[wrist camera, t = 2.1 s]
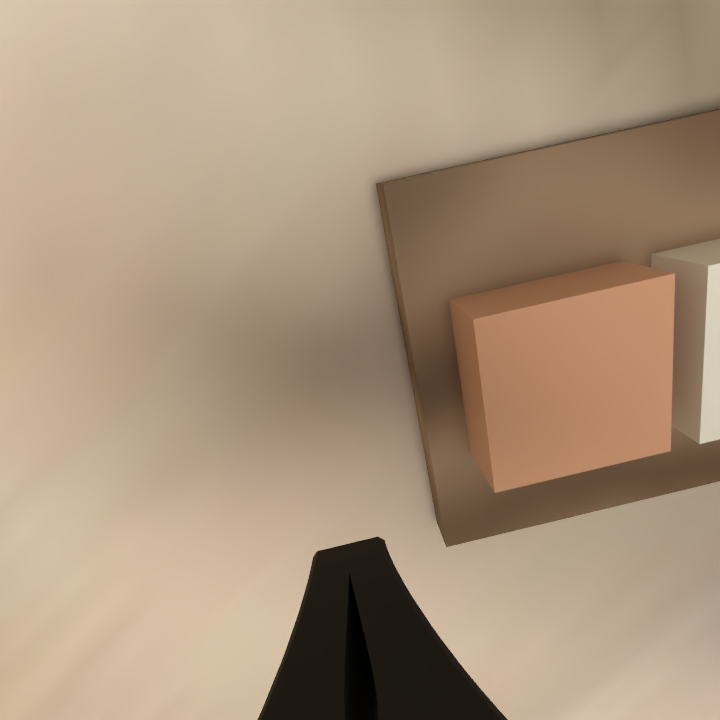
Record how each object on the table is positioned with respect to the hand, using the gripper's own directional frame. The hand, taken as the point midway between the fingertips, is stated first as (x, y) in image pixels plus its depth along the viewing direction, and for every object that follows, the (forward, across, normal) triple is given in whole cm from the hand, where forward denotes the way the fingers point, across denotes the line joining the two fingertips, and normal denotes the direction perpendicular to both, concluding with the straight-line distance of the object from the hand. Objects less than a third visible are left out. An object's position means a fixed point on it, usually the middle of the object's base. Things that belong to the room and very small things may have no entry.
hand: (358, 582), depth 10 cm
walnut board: (+10, -11, 0) cm, 15 cm away
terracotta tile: (+8, -8, 0) cm, 11 cm away
